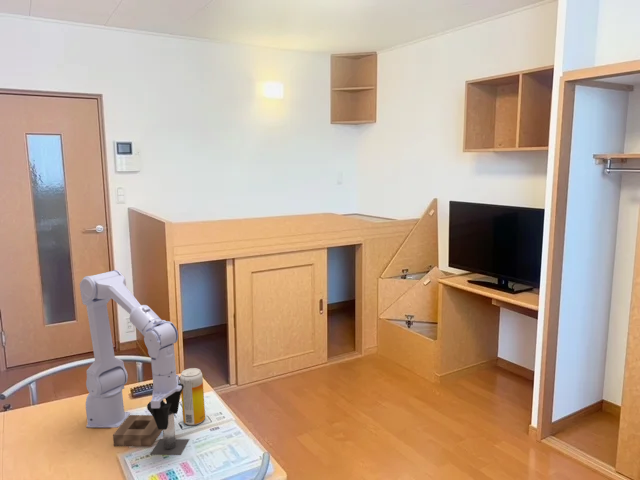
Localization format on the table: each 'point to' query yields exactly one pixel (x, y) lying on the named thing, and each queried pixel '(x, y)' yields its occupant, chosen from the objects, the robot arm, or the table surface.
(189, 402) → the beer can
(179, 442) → the rubber mat
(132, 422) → the walnut block
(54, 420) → the table surface
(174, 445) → the steel peg
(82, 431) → the table surface
